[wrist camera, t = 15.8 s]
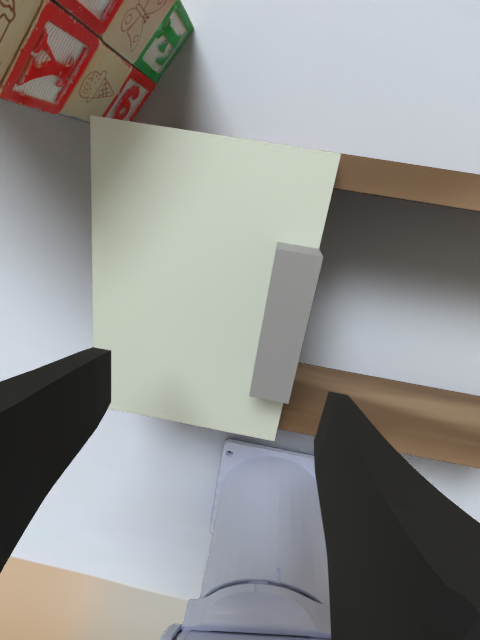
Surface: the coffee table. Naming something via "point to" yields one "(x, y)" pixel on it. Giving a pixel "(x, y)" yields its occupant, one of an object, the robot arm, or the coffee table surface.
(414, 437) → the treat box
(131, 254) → the lid
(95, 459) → the coffee table surface
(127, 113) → the stack of blocks
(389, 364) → the coffee table surface
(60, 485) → the coffee table surface
